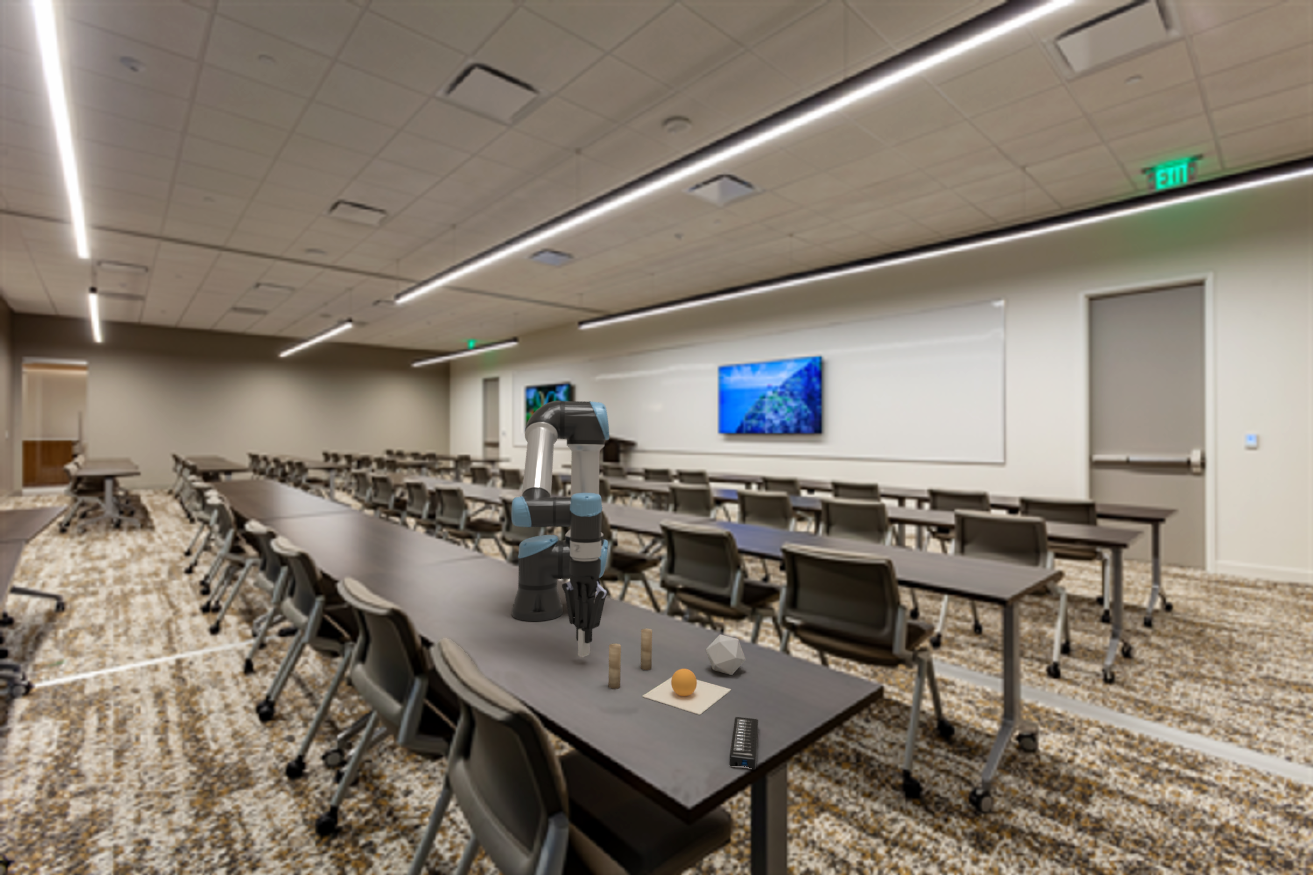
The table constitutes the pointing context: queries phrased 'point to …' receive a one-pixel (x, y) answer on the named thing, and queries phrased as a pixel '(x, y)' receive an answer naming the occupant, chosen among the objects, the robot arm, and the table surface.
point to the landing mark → (693, 703)
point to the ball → (683, 682)
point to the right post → (646, 649)
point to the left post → (614, 665)
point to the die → (725, 654)
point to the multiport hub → (744, 742)
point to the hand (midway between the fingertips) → (583, 654)
